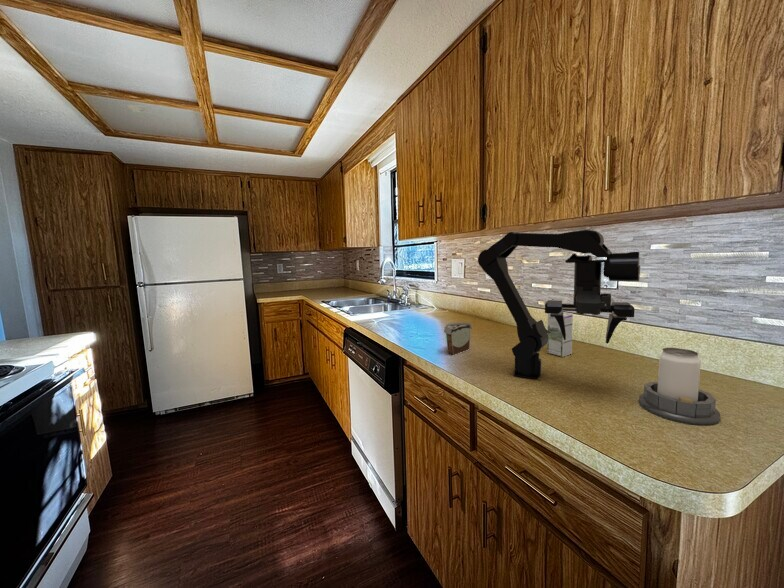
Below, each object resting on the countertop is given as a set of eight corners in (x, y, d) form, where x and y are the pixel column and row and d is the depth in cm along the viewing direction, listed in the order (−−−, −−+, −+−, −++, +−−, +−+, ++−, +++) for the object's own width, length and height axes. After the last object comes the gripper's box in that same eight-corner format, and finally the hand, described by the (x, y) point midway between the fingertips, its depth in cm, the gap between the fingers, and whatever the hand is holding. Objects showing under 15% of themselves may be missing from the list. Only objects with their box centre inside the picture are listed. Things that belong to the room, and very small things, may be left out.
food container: (458, 346, 121) (458, 320, 120) (471, 349, 117) (471, 323, 116) (437, 353, 114) (436, 326, 113) (450, 356, 109) (450, 328, 108)
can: (649, 398, 71) (652, 347, 70) (680, 398, 70) (684, 346, 69) (671, 411, 65) (675, 356, 63) (705, 412, 64) (710, 356, 63)
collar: (645, 416, 65) (646, 395, 65) (633, 392, 76) (634, 374, 76) (732, 431, 59) (734, 408, 58) (705, 402, 70) (707, 383, 70)
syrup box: (572, 354, 106) (573, 312, 105) (562, 357, 103) (563, 314, 102) (556, 350, 111) (557, 310, 110) (546, 353, 108) (547, 312, 107)
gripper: (544, 283, 75) (543, 345, 77) (641, 283, 66) (637, 354, 68) (546, 279, 85) (545, 335, 87) (631, 279, 76) (628, 341, 78)
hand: (585, 341), depth 80 cm, fingers open, 9 cm apart
